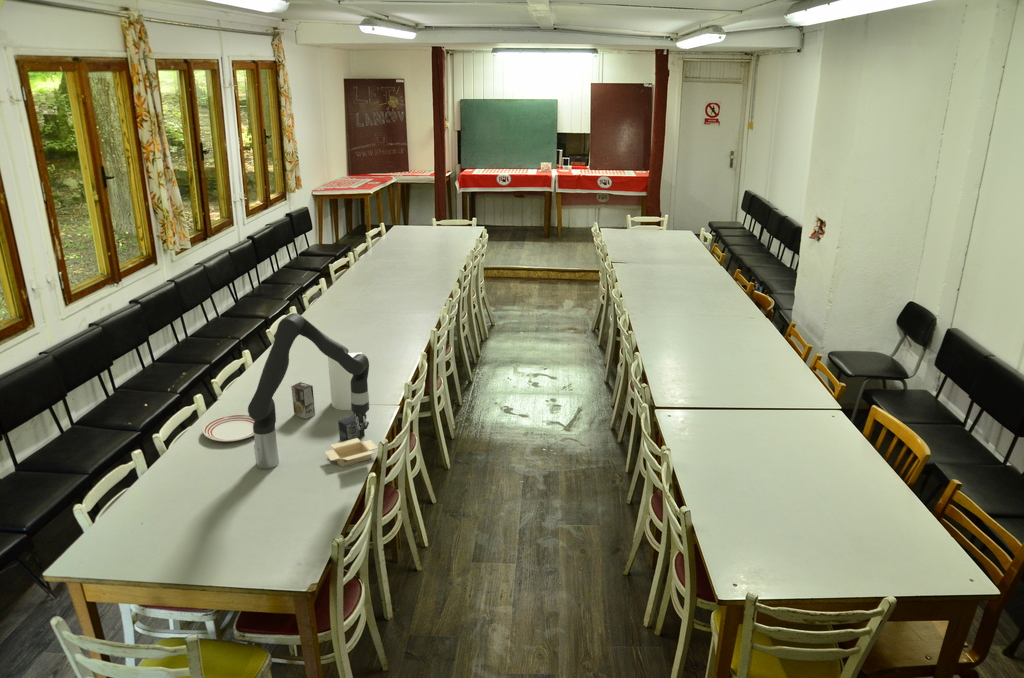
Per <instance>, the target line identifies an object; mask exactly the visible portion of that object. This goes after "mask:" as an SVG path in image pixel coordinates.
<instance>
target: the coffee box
mask: <svg viewBox="0 0 1024 678" xmlns="http://www.w3.org/2000/svg"><path fill="white" fill-rule="evenodd" d="M290 387H291V388H290V389H291V398H292V407H293V415H294V416H297V417H300V418H303V419H305V420H308V419H309V418H311V417H313V416H315V415H316V410H315V398H314V397H315V396H314V388H313V387H314V386H313V385H312V384H308V383H305V382H303V381H302V382H301V381H300V382H297V383H295V384H294V385H291V386H290Z"/></svg>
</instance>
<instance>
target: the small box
mask: <svg viewBox="0 0 1024 678" xmlns="http://www.w3.org/2000/svg"><path fill="white" fill-rule="evenodd" d="M337 422H338V434H339V441H341V442H344V441H347V440H351V439H355V438H358V439H359V440H360V439H361V438H362V437H360V436H359V433H358V427H357V425H356V423H355V419H354V415H353V413H352V414H350V415H348V416H346V417H344V418H342V419H340V420H337Z"/></svg>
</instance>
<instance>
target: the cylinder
mask: <svg viewBox="0 0 1024 678" xmlns="http://www.w3.org/2000/svg"><path fill="white" fill-rule="evenodd" d="M348 354H349V355H350V356H351V357H354V356H355V355H357V354H363V352H348ZM327 361H328V375H329V389H330V398H331V406H332V407H333V409H337V410H341V411H352V410H351V379H352V377H353V374H350V373H349V372H347V371H346V370H345V369H344V368H343V367H342V366H341V365H340V364H339V363H338V362H337V361H335V360H333V359H331V358H330V357H328V356H327Z"/></svg>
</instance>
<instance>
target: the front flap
mask: <svg viewBox="0 0 1024 678" xmlns="http://www.w3.org/2000/svg"><path fill="white" fill-rule="evenodd" d="M376 453H377V452H376V451H373V450H370V451H368V452H364V453H360V454H357V455H353V456H349V457H345V458H342V459H343V460H352V459H356V458H359V457H363V456H367V455H370V456H371V455H374V454H376Z"/></svg>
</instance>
